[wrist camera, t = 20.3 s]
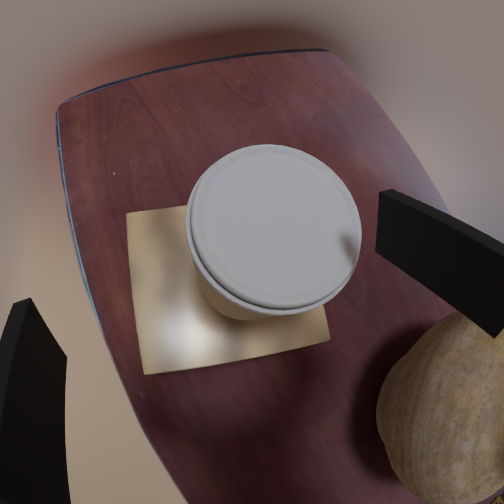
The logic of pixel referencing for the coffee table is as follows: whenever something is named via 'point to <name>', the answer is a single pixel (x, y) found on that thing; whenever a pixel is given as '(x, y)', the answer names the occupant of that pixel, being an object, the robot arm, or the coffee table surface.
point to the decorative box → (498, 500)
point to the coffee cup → (271, 233)
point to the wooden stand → (196, 305)
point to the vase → (447, 414)
